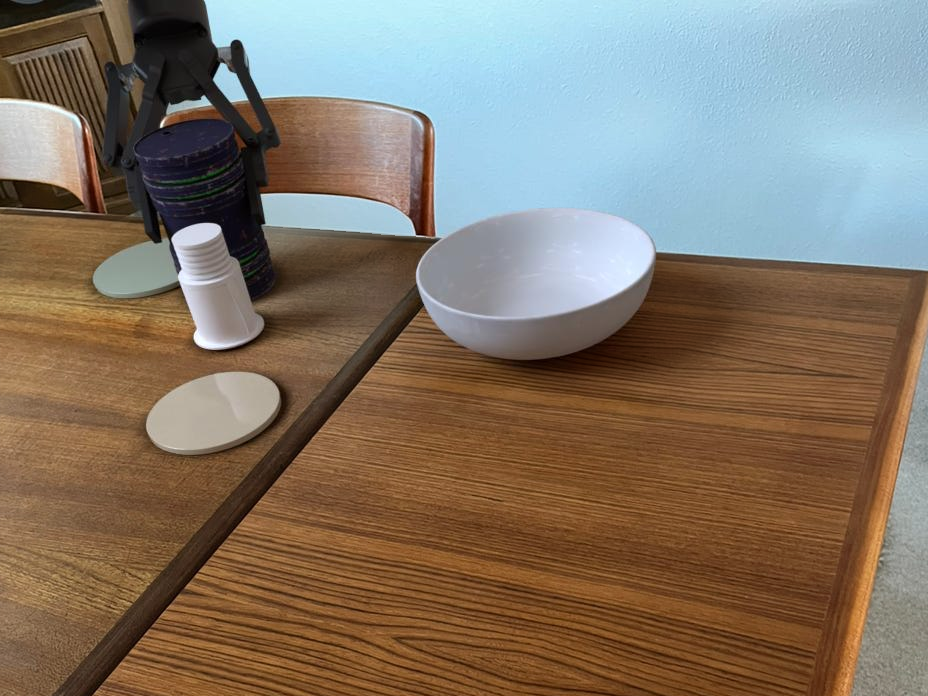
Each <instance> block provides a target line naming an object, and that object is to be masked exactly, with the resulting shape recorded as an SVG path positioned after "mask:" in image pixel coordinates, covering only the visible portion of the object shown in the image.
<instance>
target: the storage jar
mask: <svg viewBox="0 0 928 696" xmlns="http://www.w3.org/2000/svg"><path fill="white" fill-rule="evenodd" d="M133 151H134V153H135V156H136V159H137V160H138V162H139V167H140V170H141V172H142V175H143V181H144V184H145V186H146V189H147V191H148V192H149V195H150V197H151V203H152V204H153V206H154V208H155V210H156V211H157V213H158V215H159V217H160V220H161V224H162V226H163V229H164V231H165V234H166V236H167V238H168V240H169V242H170V244H169V249H170V252H171V255H172V258H173V260H174V266H175V269H176V271H177V274H179V272H180V271H181V270H182V268H181V265H180V262H179V260H178V257H177V254H176V251H175V249H174V245H173V243H172V237H173V235H174V234H175V233H177V232H178V231H180V230H181V229H183V228H186V227H188V226H191V225H195V224H201V223H214V224H217V225H219V226H220V227H221V230H222V233H223V236H224V240H225V242H226V246H227V249H228V252H229V255H230V256H231V257H234V258H236V259H237V260H238V262H239V265H240V268H241V271H242V274H243V277H244V281H245V284H246V287H247V290H248V293H249V297H250V300H251V301H253V300H256V299H258V298H259V297H261V296H263V295H264V294H266V293H267V292H268V291H270V289H272V287H273V286H274V285H275V283H276V279H277V275H276V272H275V268H274V267H273V266H272V262H273V261H272V258H271V251H270V246H269V243H268V240H267V238H266V236H265V232H264V230H263V225H259V226H258V224H257V222H256V221H255V219H254V217H253V215H252V212H251V206H250V200H249V195H248V189H247V183H246V178H245V172H244V166H243V161H242V155H241V149H240V147H239V144H238V141H237V139H236V133H235V132H234V130H233V126H232V124H231V123H230V122H228V121H226V120H225V119H221V118H213V117H211V118H210V117H209V118H208V117H206V118H194V119H193V118H192V119H189V120H182V121H177V122H174V123H171V124H167V125H164V126H162V127H158V129H156V130H154V131H152V132H150V133H148V134H146V135H145V136H143V137H142V138H140V139H139V140H138V141H137V142H136V143H135V145H134V147H133Z"/></svg>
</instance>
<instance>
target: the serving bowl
mask: <svg viewBox="0 0 928 696" xmlns="http://www.w3.org/2000/svg"><path fill="white" fill-rule="evenodd" d="M656 261H657V248H656V244H655V241H654V240H653V238H652V237H651V236H650V234H649V233H648V232H646V231H645V229H644V228H642V227H641V226H639V225H638V224H636V223H634V222H632V221H630V220H628V219H626V218H623V217H621V216H619V215H615V214H612V213H609V212H608V213H607V212H605V211H604V212H603V211H600V210H599V211H598V210H593V209H586V208H575V207H541V208H532V209H531V208H530V209H522V210H516V211H510V212H506V213H501V214H497V215H493V216H489V217H485V218H482V219H479V220H477V221H473V222H472V223H471V222H470V223H469V224H466V225H464V226H462V227H459V228H457V229H455V230H454V231H452V232H449V233H448V234H446V235H445V236H444V237H442V238H440V239H439V240H437V242H436V241H435V243H434V244H432V245H431V246H430V247H429V248H428V250H426V252H425V253H424V254H423V255H422V257H421V258H420V260H419V262H418V265H417V266H416V267H417V268H416V272H415V281H416V285H417V290H418V292H419V295H420V298H421V301H422V304H424V308H425V309H426V312H427V313H428V315H429V316H430V318H431V320H432V322H433V323H434V324H435V325H436V326H437V328H438V329H440V331H441V332H442V333H444V334H445V335H446V336H447V337H448V338H449V339H451V340H452V341H454V342H455V343H456V344H458V345H460V346H462V347H464V348H466V349H468V350H470V351H473V352H475V353H478V354H482V355H483V356H484V355H485V356H487V357H493V358H499V359H504V360H515V361H516V360H518V361H531V360H545V359H551V358H557V357H562V356H566V355H570V354H573V353H574V354H575V353H576V352H580V351H583V350H585V349H588V348H590V347H592V346H594V345H596V344H598V343H601V342H602V341H604V340H605V339H607V338H609V337H611V336H613V334H615V333H616V332H618V331H619V330H620V329H621V328H623V327H624V326H625V325H626V324H627V323H628V322H629V321H630V320H631V319H632V317H634V315H635V314H636V313H637V311H639V308H640V307H641V305H642V304H643V302H644V301H645V299H646V296H647V294H648V293H649V289H650V286H651V283H652V280H653V276H654V272H655V266H656Z"/></svg>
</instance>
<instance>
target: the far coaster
mask: <svg viewBox="0 0 928 696" xmlns="http://www.w3.org/2000/svg"><path fill="white" fill-rule="evenodd" d="M169 244H170V242H169V240H168V237H167V238H166V237H165V238H162V243H157V244H155V243H154V242H153V241H152V240H148V241H145V242H141V243H137V244H134V245H132V246H129V247H126V248H124V249H122V250H120V251H118V252H115V254H113V255H111V256H110V257H108V258H107V259H105V260H104V261H103V262H101V263H100V264H99V265H98V267H97V268H96V269H95V270H94V273H93V275H92V282H93V285H94V287H95V289H96V290H97V291H98V293H100V294H102V295H104V296H106V297H110V298H116V299H136V298H137V299H138V298H145V297H150V296H154V295H158V294H162V293H165V292H168V291H171V290H173V289H176V288H178V287H181V284H180V282H179V279H178V274H177V271H176V269H175V266H174V260H173V258H172V255H171V252H170V249H169Z"/></svg>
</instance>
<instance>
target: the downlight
mask: <svg viewBox="0 0 928 696" xmlns="http://www.w3.org/2000/svg"><path fill="white" fill-rule="evenodd" d="M172 243H173V245H174V249H175V251H176V254H177V257H178V260H179V262H180V265H181V268H182V270H181V271H180V272H179V274H178V279H179V282H180V284H181V285H180V287H181V289H182V292H183V295H184V298H185V300H186V303H187V306H188V308H189V311H190V314H191V317H192V319H193V322H194V325H195V328H196V330H195V331H194V333H193V341H194V343H195V344H196V345H197V346H198V347H200V348H202V349H206V350H212V351H213V350H214V351H219V350H227V349H228V350H229V349H232V348H233V349H234V348H236V347H239V346H242V345H245V344H246V343H249V342H250V341H252V340H254V339H256V338H257V337H258V336H259V335H260V334H261V333H262V331H263V330H264V327H265V321H264V318H263V317H262V316H261V315H260V314H258V313H256V312H255V310H254V307H253V302H252V300H250V297H249V293H248V290H247V287H246V284H245V281H244V277H243V274H242V271H241V268H240V265H239V262H238V260H237V259H236V258H234V257H231V256H230V255H229V252H228V249H227V246H226V242H225V240H224V236H223V233H222V230H221V227H220V226H219V225H217V224H214V223H201V224H195V225H191V226H188V227H186V228H183V229H181V230H180V231H178V232H177V233H175V234H174V235H173V237H172Z"/></svg>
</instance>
